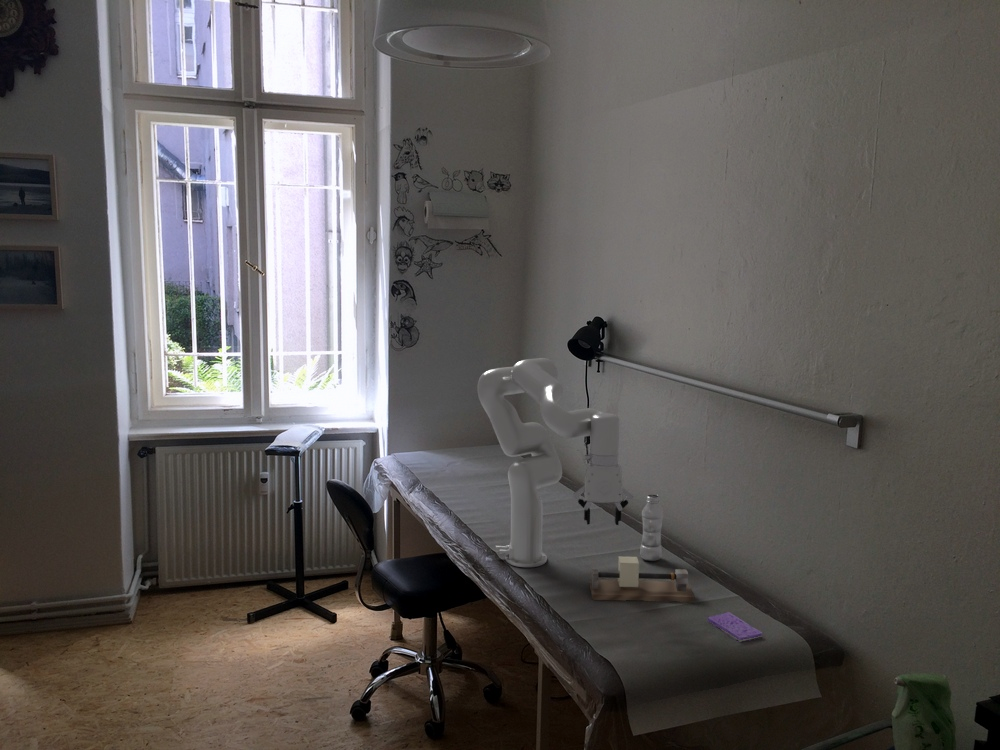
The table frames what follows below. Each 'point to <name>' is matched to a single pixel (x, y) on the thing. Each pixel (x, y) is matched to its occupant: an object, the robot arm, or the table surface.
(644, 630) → the table surface
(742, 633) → the sponges
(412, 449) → the table surface
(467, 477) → the table surface
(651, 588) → the wooden linear slide
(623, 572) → the cream foam block
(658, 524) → the plastic bottle
